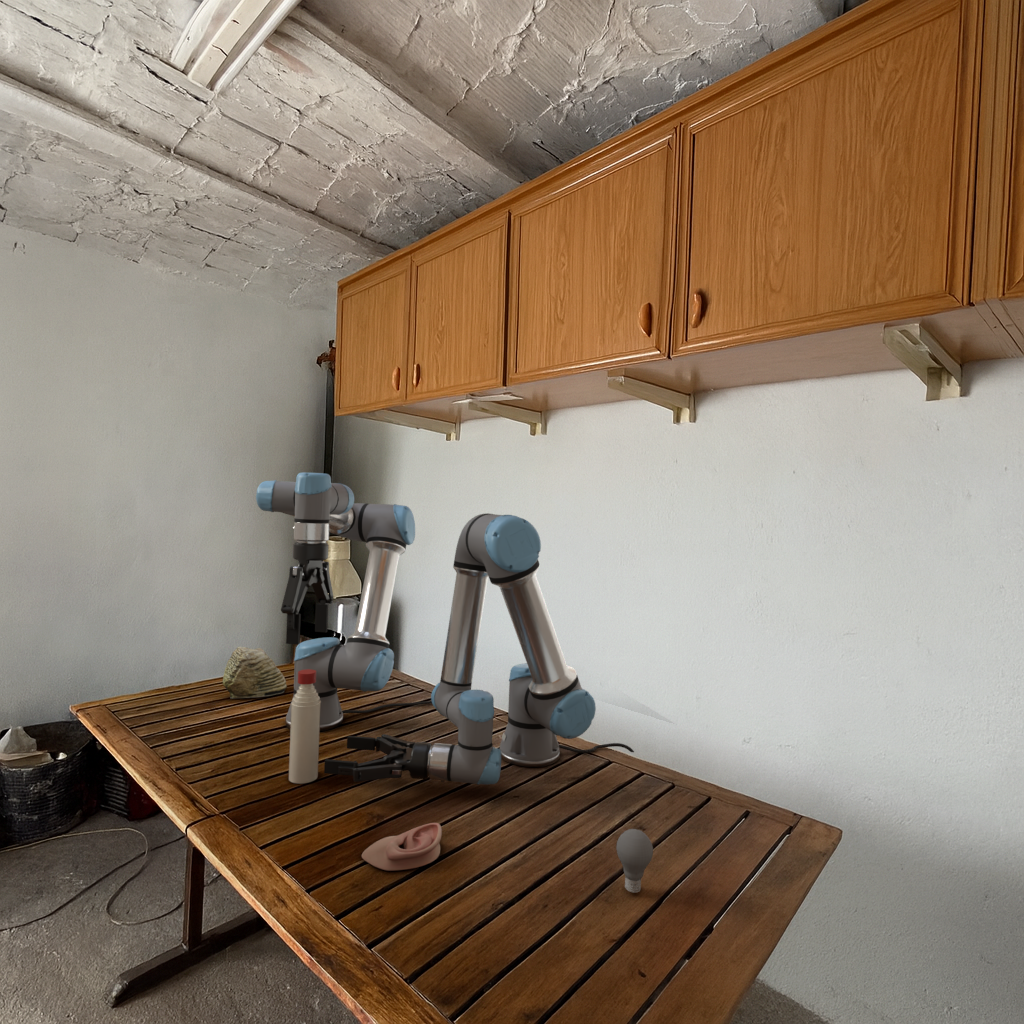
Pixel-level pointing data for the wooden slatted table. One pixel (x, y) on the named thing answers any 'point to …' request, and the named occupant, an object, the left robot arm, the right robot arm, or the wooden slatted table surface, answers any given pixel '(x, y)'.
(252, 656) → the fossil
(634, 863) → the light bulb
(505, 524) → the right robot arm
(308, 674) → the cap
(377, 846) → the anatomical model
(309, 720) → the bottle
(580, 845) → the wooden slatted table surface
